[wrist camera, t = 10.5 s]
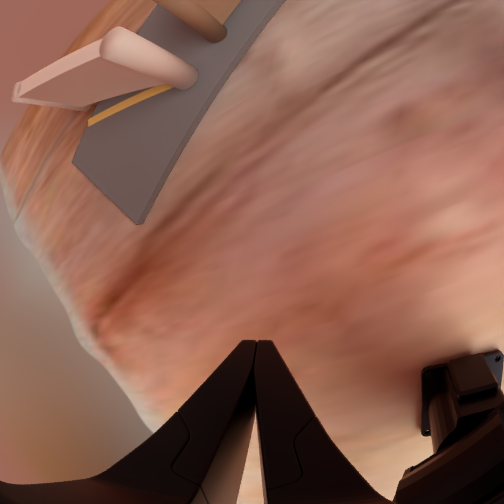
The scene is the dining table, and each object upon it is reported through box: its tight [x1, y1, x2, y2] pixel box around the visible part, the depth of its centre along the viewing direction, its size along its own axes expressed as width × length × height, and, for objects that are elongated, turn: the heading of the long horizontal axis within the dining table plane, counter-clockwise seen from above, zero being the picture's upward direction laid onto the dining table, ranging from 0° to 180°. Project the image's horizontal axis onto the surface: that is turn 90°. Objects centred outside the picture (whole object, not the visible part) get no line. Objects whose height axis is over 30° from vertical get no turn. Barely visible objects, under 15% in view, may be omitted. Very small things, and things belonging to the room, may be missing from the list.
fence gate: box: [11, 27, 198, 112], centre depth 19 cm, size 12×2×8 cm, turn 89°
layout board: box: [72, 0, 286, 225], centre depth 18 cm, size 23×10×8 cm, turn 145°
